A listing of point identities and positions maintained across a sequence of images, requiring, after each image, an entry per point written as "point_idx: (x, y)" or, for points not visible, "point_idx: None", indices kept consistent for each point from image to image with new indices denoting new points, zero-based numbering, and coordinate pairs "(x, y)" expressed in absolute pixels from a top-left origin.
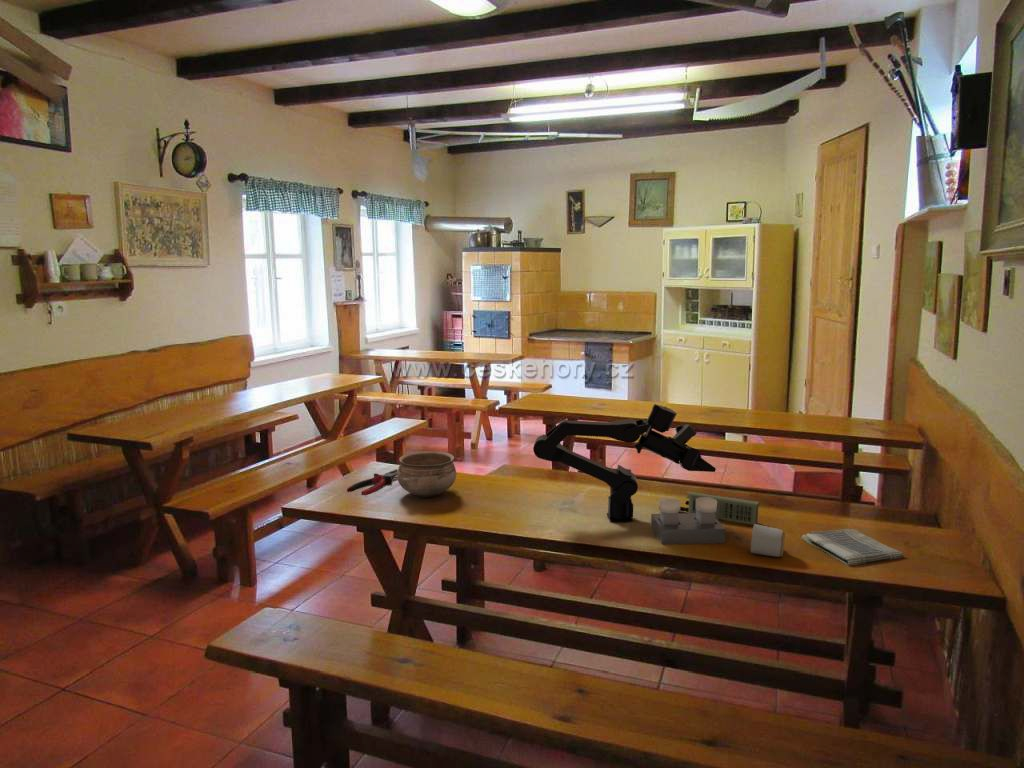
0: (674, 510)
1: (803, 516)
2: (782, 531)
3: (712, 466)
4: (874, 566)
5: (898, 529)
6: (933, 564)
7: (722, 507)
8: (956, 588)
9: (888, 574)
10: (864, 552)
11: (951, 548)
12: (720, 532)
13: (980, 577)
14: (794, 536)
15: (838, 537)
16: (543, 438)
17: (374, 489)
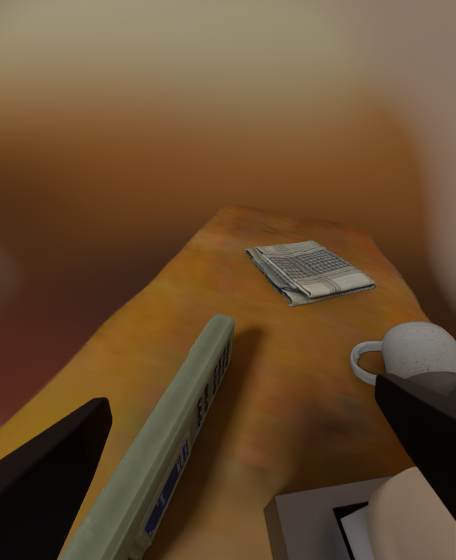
0: None
1: (179, 275)
2: (431, 323)
3: (434, 394)
4: None
5: (226, 224)
6: (320, 235)
7: (194, 422)
8: (372, 241)
9: (373, 266)
10: (339, 262)
11: (271, 217)
12: None
13: (334, 225)
14: (280, 311)
15: (293, 267)
16: None
17: None
